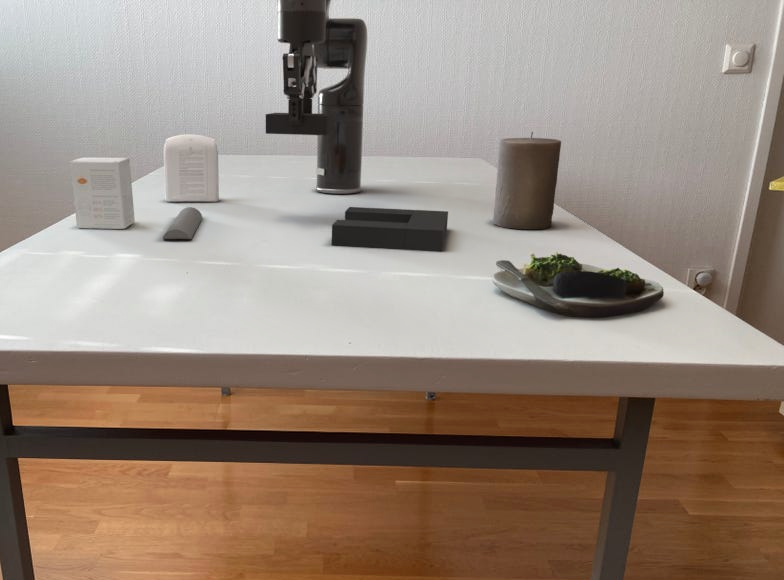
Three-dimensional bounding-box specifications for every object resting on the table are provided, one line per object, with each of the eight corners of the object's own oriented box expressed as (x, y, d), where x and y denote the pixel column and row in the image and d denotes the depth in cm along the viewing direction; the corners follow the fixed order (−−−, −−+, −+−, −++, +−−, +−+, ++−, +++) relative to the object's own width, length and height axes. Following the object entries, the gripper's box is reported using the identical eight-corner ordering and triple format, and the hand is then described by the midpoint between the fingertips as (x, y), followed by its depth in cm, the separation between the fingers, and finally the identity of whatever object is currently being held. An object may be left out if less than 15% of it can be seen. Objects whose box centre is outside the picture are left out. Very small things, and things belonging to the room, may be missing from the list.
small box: (135, 223, 128) (131, 157, 124) (124, 229, 123) (119, 161, 119) (88, 221, 129) (82, 156, 125) (75, 228, 124) (69, 160, 120)
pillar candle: (564, 228, 128) (576, 133, 122) (514, 231, 124) (524, 134, 119) (527, 217, 136) (537, 128, 131) (480, 221, 133) (488, 129, 128)
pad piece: (275, 131, 130) (275, 112, 129) (333, 133, 128) (334, 114, 127) (265, 133, 125) (265, 114, 124) (326, 135, 123) (326, 115, 122)
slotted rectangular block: (348, 225, 128) (349, 206, 127) (446, 229, 125) (448, 211, 124) (331, 245, 114) (331, 224, 113) (441, 251, 111) (443, 230, 110)
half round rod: (161, 241, 115) (160, 229, 114) (178, 217, 133) (177, 207, 133) (190, 241, 115) (189, 229, 114) (202, 217, 133) (202, 207, 133)
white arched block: (219, 198, 152) (217, 133, 148) (219, 202, 148) (218, 135, 144) (165, 199, 151) (162, 133, 146) (165, 203, 147) (161, 135, 143)
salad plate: (446, 282, 94) (449, 245, 93) (553, 266, 103) (557, 231, 101) (569, 327, 79) (575, 283, 77) (682, 303, 87) (690, 263, 85)
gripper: (315, 5, 113) (313, 126, 119) (334, 13, 126) (331, 121, 132) (265, 6, 114) (266, 125, 120) (289, 13, 128) (289, 120, 133)
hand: (300, 122), depth 126 cm, fingers closed on pad piece, 6 cm apart
